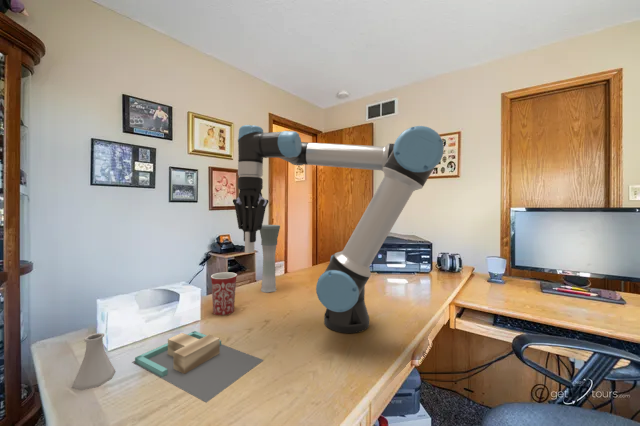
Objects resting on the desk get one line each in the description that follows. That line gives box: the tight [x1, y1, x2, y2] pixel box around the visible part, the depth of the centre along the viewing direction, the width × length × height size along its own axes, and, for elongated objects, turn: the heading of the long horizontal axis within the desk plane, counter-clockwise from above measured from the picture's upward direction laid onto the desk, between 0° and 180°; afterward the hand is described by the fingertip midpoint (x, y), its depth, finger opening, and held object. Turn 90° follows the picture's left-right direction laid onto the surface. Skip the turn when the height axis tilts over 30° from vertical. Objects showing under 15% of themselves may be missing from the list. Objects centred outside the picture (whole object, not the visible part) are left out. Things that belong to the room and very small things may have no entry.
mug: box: [210, 271, 238, 316], centre depth 101 cm, size 13×9×14 cm
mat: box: [131, 330, 264, 403], centre depth 67 cm, size 27×17×2 cm, turn 61°
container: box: [259, 224, 281, 293], centre depth 125 cm, size 10×10×30 cm
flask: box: [71, 332, 117, 391], centre depth 59 cm, size 7×7×10 cm
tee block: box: [167, 332, 221, 374], centre depth 69 cm, size 11×10×4 cm
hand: (249, 252), depth 85 cm, fingers closed
